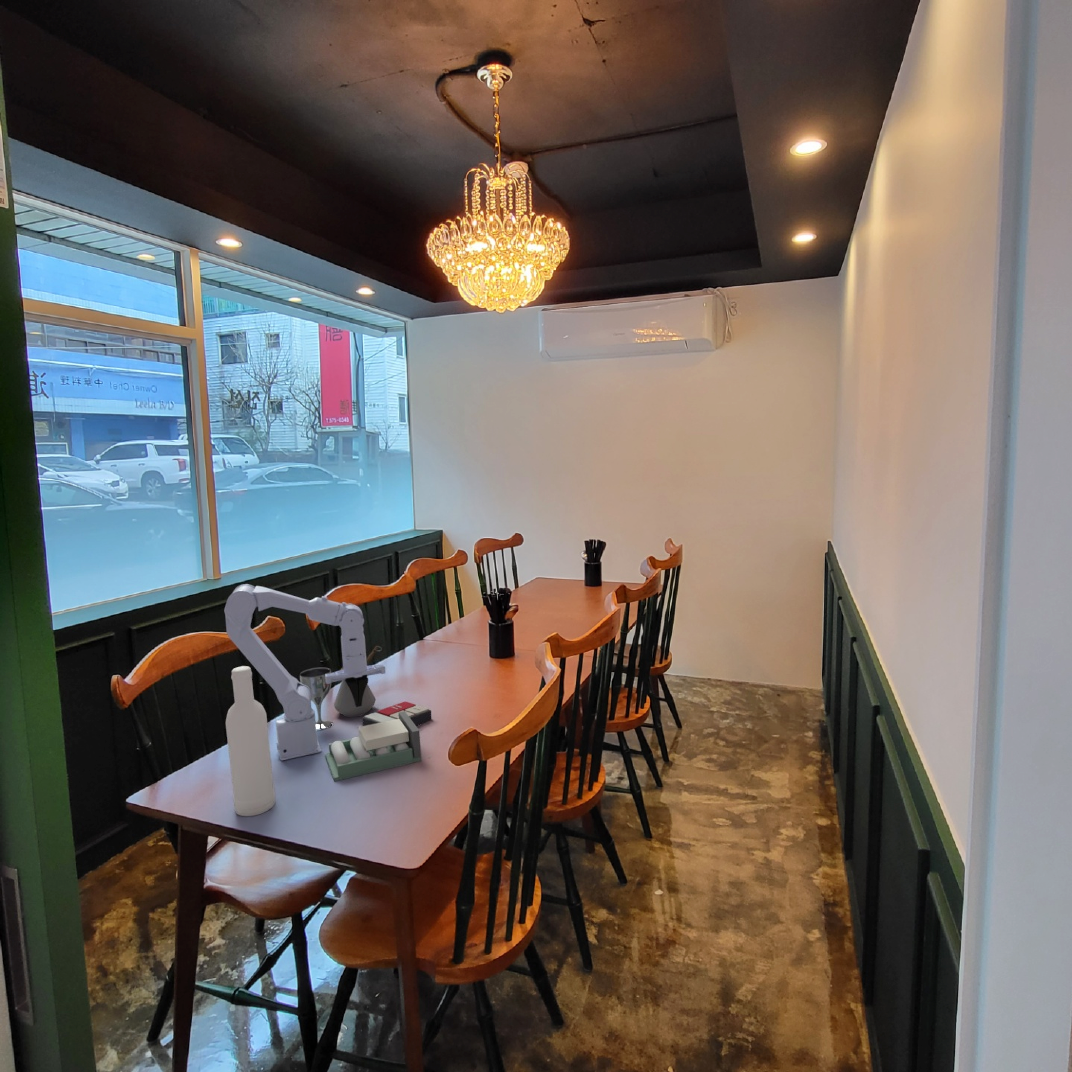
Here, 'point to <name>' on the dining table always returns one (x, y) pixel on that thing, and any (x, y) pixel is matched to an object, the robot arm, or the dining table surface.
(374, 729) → the board
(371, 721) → the calculator
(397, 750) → the roller frame
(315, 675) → the wine glass
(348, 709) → the coffee pot
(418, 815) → the dining table surface
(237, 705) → the bottle
